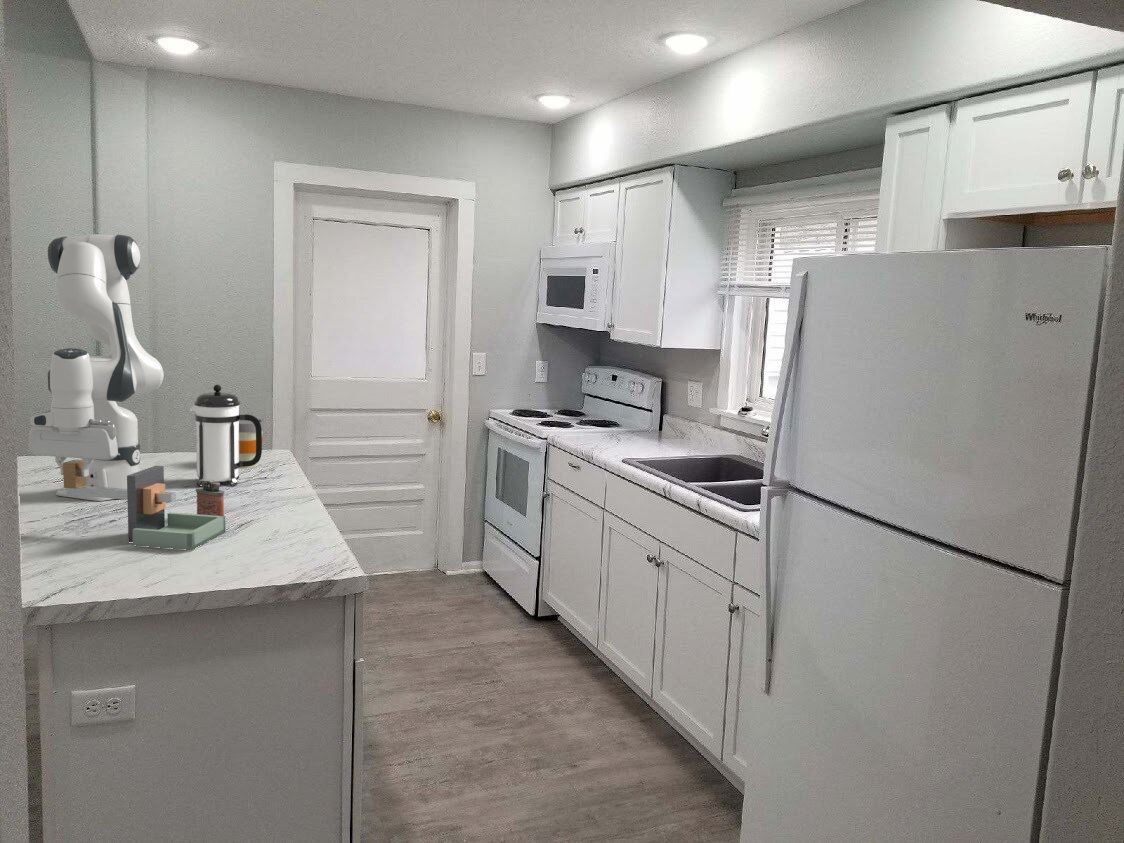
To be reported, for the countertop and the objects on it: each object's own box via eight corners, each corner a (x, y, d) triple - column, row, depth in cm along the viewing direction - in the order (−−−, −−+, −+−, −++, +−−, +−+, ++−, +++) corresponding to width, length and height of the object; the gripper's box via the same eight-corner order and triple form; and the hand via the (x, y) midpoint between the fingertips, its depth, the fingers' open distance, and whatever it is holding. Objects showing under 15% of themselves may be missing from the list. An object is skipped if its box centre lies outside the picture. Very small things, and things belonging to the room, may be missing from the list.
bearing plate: (128, 543, 202) (126, 475, 200) (157, 529, 214) (155, 465, 212) (136, 543, 202) (135, 476, 200) (164, 530, 214) (163, 466, 212)
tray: (133, 546, 200) (132, 529, 200) (170, 528, 216) (170, 512, 215) (192, 550, 199) (192, 534, 198) (225, 532, 215) (225, 516, 214)
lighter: (227, 518, 227) (227, 481, 225) (218, 521, 224) (218, 483, 222) (202, 514, 229) (202, 477, 228) (193, 517, 226) (192, 480, 225)
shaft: (64, 495, 207) (62, 462, 205) (75, 492, 211) (73, 459, 209) (169, 503, 204) (168, 470, 203) (178, 499, 208) (177, 466, 207)
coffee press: (215, 491, 255) (214, 389, 250) (181, 482, 263) (179, 383, 259) (263, 481, 269) (263, 385, 265) (230, 474, 278) (229, 380, 273)
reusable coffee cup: (256, 470, 285) (255, 424, 283) (217, 468, 285) (217, 422, 283) (269, 462, 297) (269, 419, 295) (232, 460, 298) (232, 417, 295)
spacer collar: (143, 513, 204) (142, 488, 203) (157, 507, 210) (157, 483, 209) (151, 514, 204) (151, 489, 203) (165, 508, 210) (165, 483, 209)
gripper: (122, 419, 208) (124, 475, 210) (41, 413, 210) (43, 470, 212) (106, 422, 202) (108, 481, 204) (23, 417, 203) (25, 475, 205)
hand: (74, 475), depth 208 cm, fingers open, 3 cm apart
